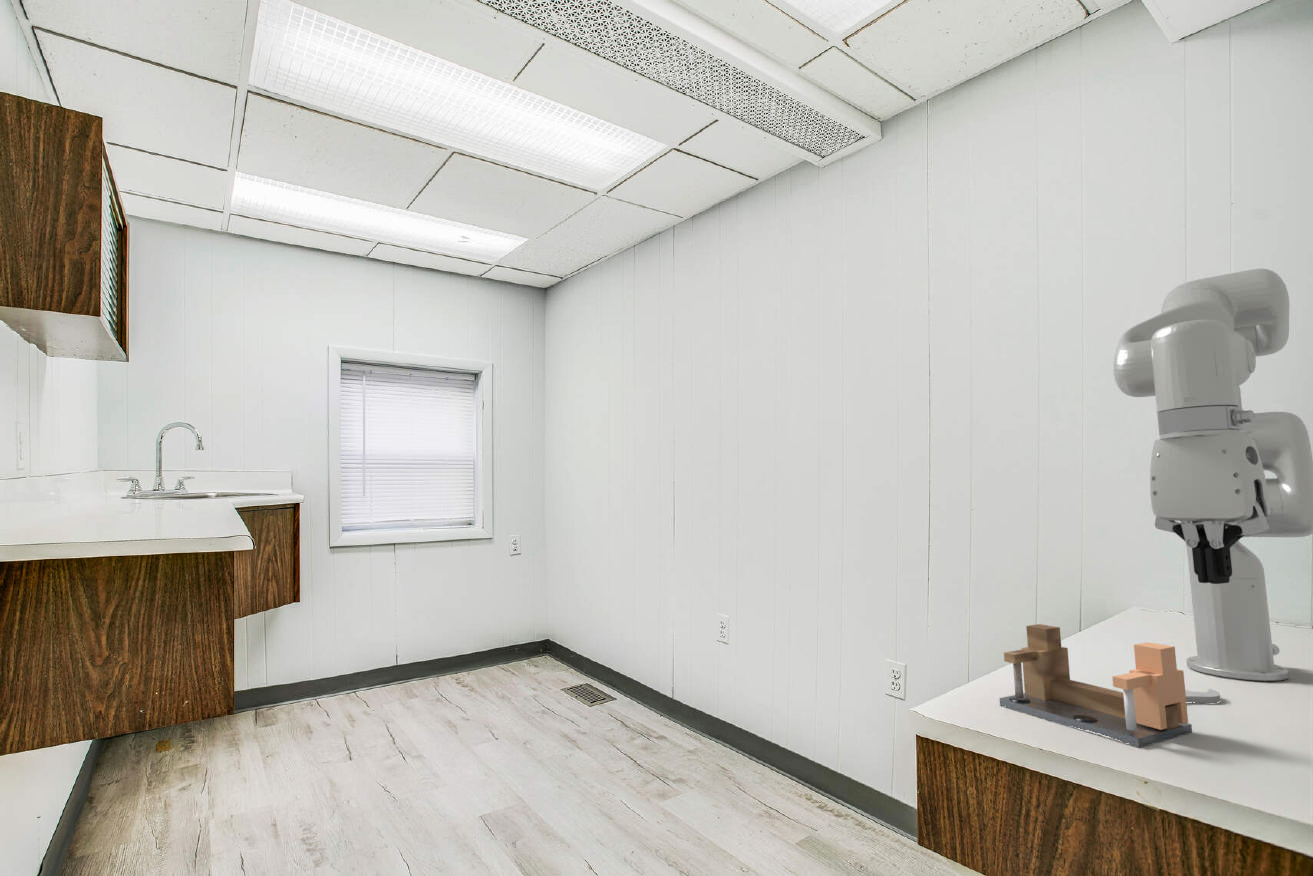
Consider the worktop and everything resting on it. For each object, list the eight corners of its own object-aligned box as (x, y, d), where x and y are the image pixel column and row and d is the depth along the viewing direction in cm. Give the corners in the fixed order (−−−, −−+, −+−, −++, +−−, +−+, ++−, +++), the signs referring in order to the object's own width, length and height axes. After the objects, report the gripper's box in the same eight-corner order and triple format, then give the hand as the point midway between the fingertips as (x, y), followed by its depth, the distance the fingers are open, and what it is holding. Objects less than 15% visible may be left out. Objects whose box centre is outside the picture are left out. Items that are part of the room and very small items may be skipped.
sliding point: (1160, 715, 83) (1154, 641, 84) (1188, 722, 80) (1180, 645, 81) (1110, 728, 78) (1104, 649, 79) (1137, 736, 76) (1130, 654, 76)
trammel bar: (1049, 688, 96) (1044, 623, 97) (1186, 724, 80) (1178, 645, 81) (1001, 698, 92) (996, 629, 93) (1135, 738, 76) (1128, 654, 77)
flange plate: (1051, 695, 96) (1050, 687, 96) (1192, 732, 80) (1191, 723, 80) (999, 705, 92) (999, 697, 92) (1138, 747, 75) (1137, 738, 76)
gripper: (1296, 419, 72) (1315, 587, 70) (1147, 433, 86) (1160, 575, 84) (1260, 416, 69) (1280, 592, 67) (1112, 431, 83) (1125, 578, 81)
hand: (1214, 582), depth 75 cm, fingers closed
